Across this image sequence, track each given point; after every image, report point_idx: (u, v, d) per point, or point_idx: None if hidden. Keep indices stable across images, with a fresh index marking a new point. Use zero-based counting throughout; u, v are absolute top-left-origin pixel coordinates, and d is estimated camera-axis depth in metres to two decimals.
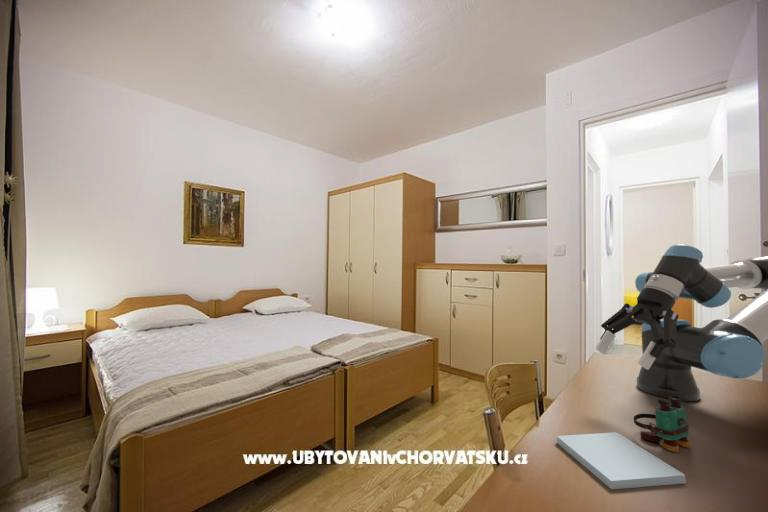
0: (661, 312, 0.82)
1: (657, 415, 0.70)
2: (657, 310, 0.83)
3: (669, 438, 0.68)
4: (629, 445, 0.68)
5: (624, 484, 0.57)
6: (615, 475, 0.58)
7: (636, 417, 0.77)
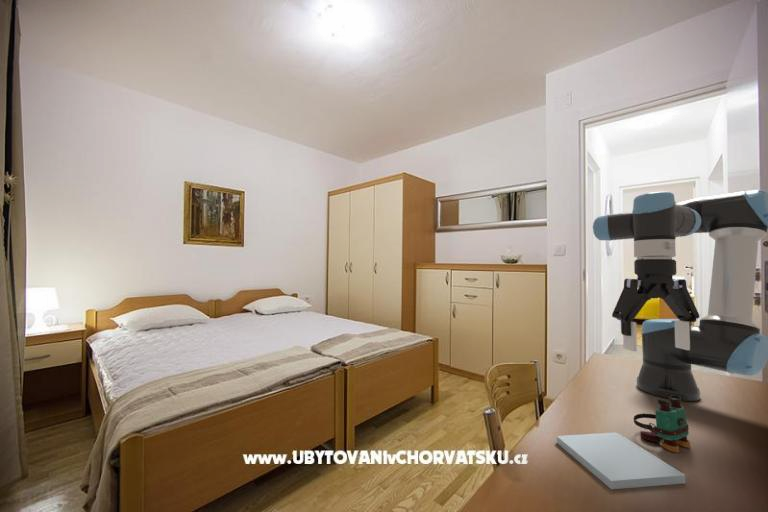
0: None
1: (657, 415, 0.70)
2: (672, 282, 0.73)
3: (669, 438, 0.68)
4: (629, 445, 0.68)
5: (624, 484, 0.57)
6: (615, 475, 0.58)
7: (636, 417, 0.77)
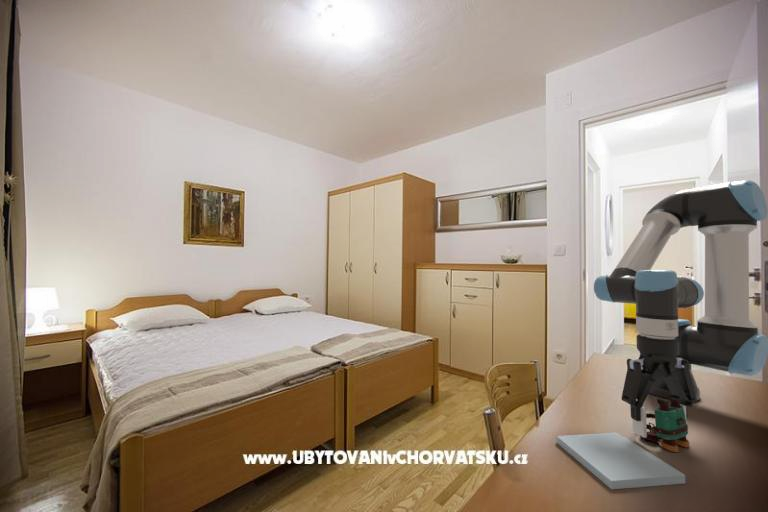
0: None
1: (656, 415, 0.70)
2: (674, 361, 0.72)
3: (668, 438, 0.68)
4: (629, 445, 0.68)
5: (624, 484, 0.57)
6: (615, 475, 0.58)
7: None
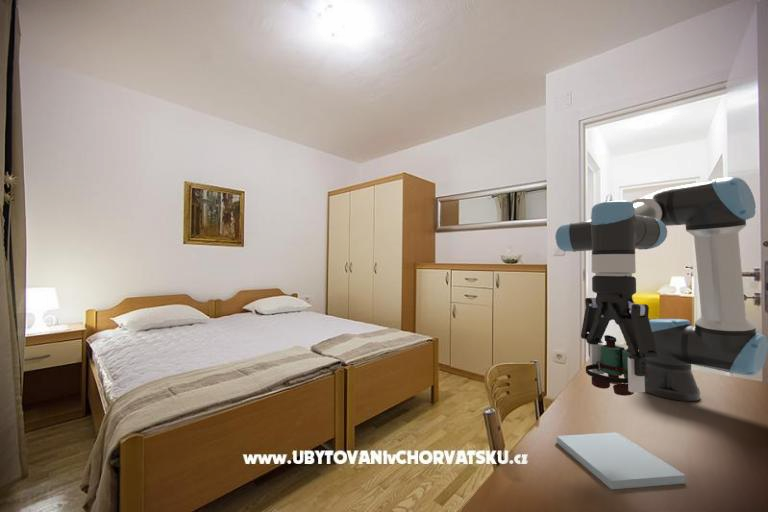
0: None
1: None
2: None
3: None
4: (629, 445, 0.68)
5: (624, 484, 0.57)
6: (615, 475, 0.58)
7: None
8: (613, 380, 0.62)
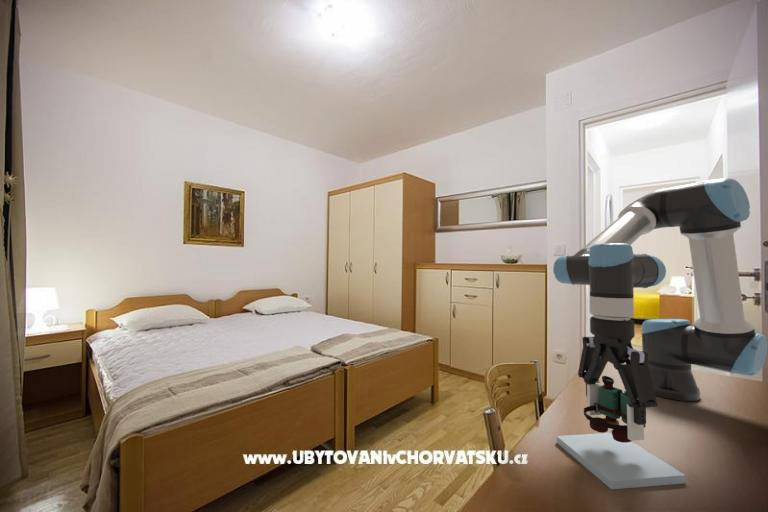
0: None
1: None
2: None
3: None
4: (629, 445, 0.68)
5: (624, 484, 0.57)
6: (615, 475, 0.58)
7: None
8: (612, 427, 0.61)
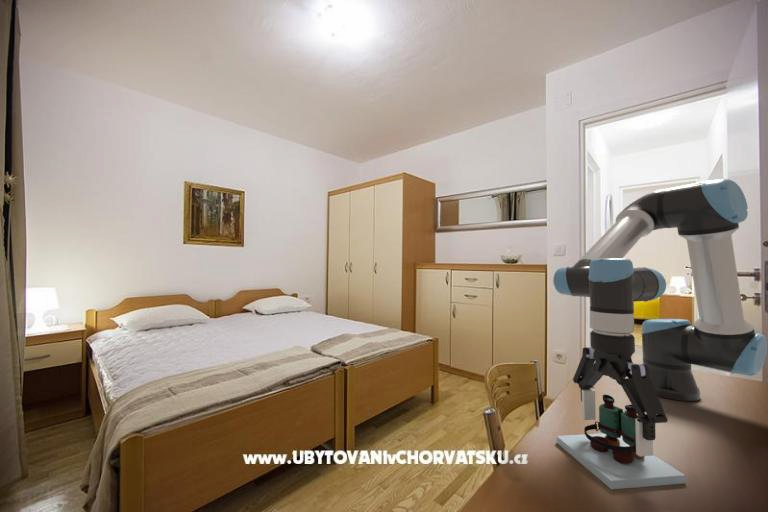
0: None
1: None
2: None
3: None
4: None
5: (624, 484, 0.57)
6: (615, 475, 0.58)
7: None
8: (613, 448, 0.61)
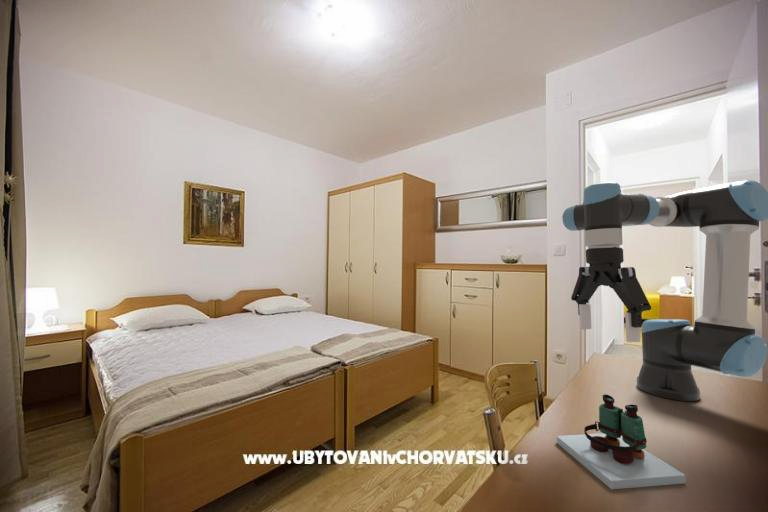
0: None
1: (639, 426, 0.62)
2: None
3: None
4: None
5: (624, 484, 0.57)
6: (615, 475, 0.58)
7: None
8: (613, 448, 0.61)
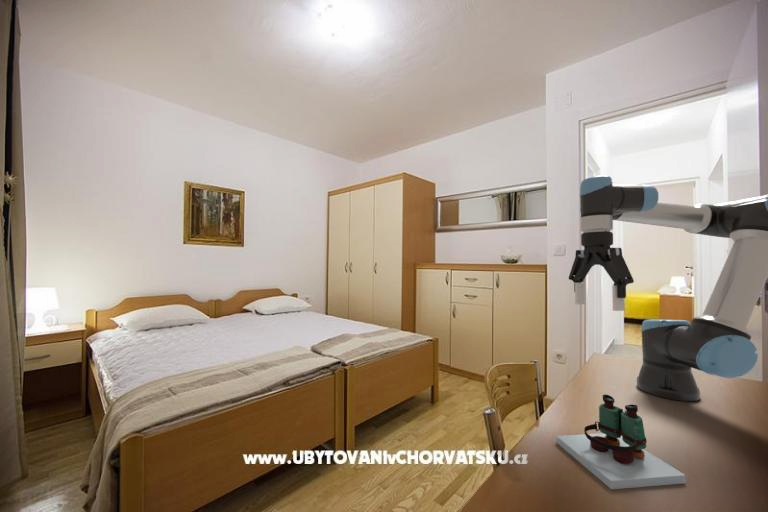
0: None
1: (639, 426, 0.62)
2: None
3: None
4: None
5: (624, 484, 0.57)
6: (615, 475, 0.58)
7: None
8: (613, 448, 0.61)
